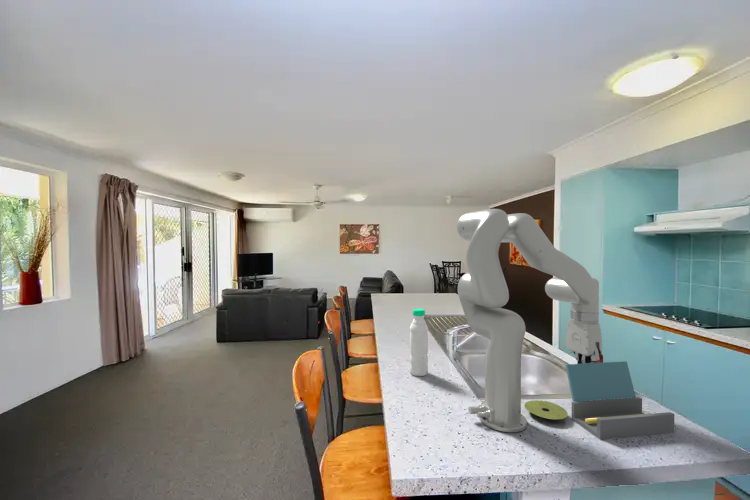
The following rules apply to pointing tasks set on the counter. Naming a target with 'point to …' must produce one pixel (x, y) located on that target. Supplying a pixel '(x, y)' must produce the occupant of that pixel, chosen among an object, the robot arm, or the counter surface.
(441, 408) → the counter surface
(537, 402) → the mat
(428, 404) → the counter surface
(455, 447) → the counter surface
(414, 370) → the water bottle
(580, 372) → the panel
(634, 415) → the cable duct
